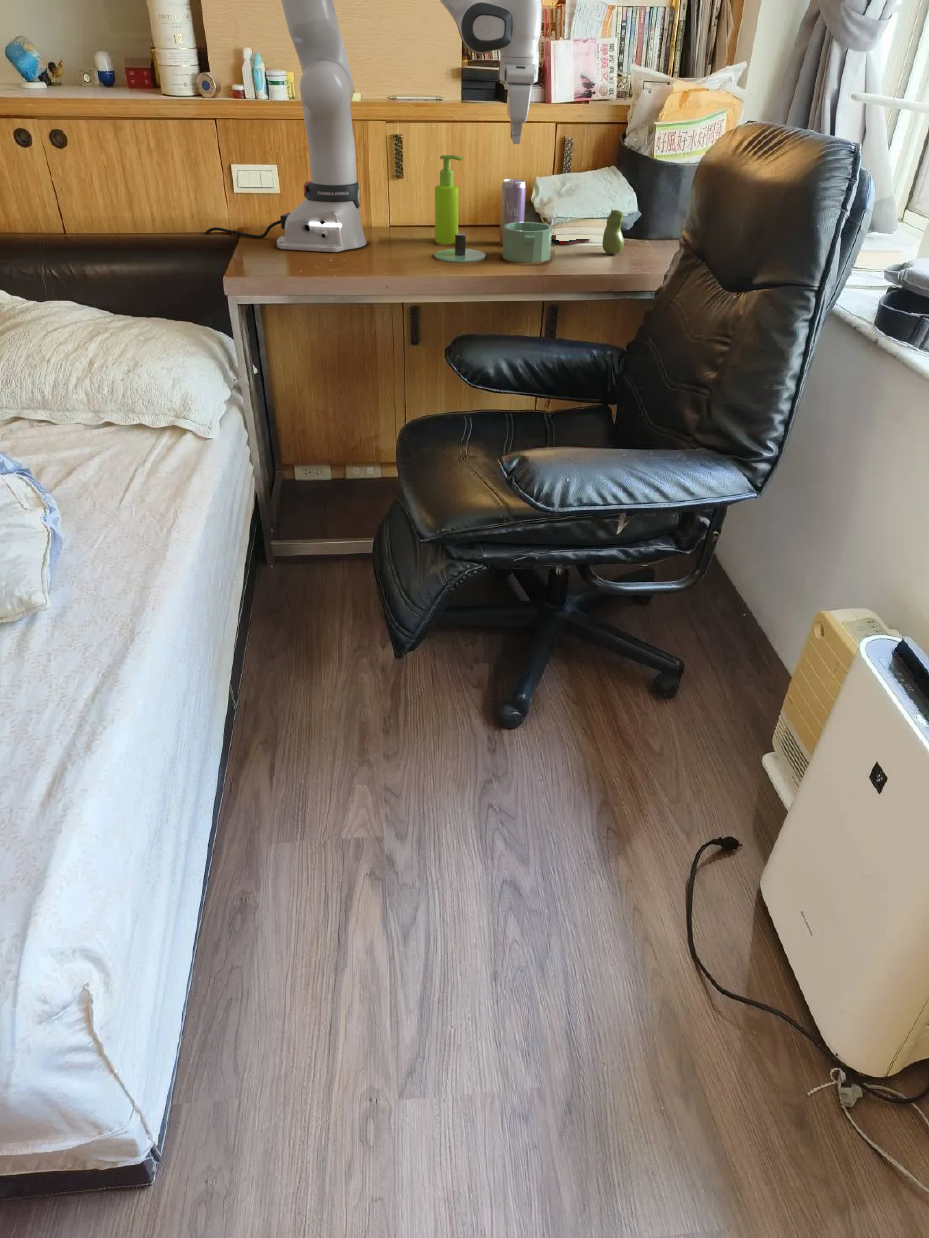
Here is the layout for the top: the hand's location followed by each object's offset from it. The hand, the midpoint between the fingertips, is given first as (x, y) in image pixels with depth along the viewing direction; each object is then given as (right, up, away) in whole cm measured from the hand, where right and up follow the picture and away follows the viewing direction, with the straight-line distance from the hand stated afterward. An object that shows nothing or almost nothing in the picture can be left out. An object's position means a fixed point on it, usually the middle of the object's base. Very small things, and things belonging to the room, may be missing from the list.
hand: (515, 141), depth 197 cm
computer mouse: (+16, -15, +20) cm, 29 cm away
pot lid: (-13, -27, +1) cm, 30 cm away
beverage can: (0, -19, +14) cm, 24 cm away
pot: (+3, -27, +2) cm, 27 cm away
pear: (+25, -23, +9) cm, 35 cm away
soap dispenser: (-16, -18, +15) cm, 29 cm away
